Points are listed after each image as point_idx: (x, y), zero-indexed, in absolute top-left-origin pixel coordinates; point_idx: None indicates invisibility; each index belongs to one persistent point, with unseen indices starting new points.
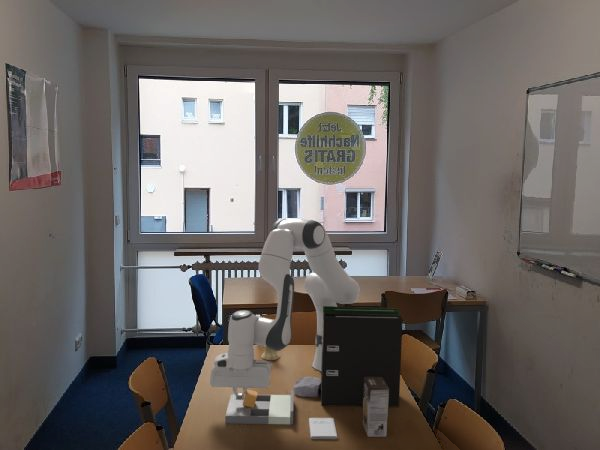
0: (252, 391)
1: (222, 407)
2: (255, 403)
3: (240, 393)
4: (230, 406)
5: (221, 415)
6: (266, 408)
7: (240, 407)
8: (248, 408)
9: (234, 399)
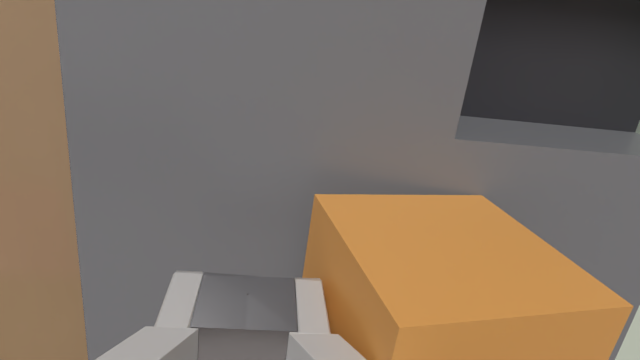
0: (526, 349)
1: (2, 59)
2: None
3: (249, 348)
4: (120, 291)
5: (48, 274)
6: None
7: None
8: None
9: (147, 54)
